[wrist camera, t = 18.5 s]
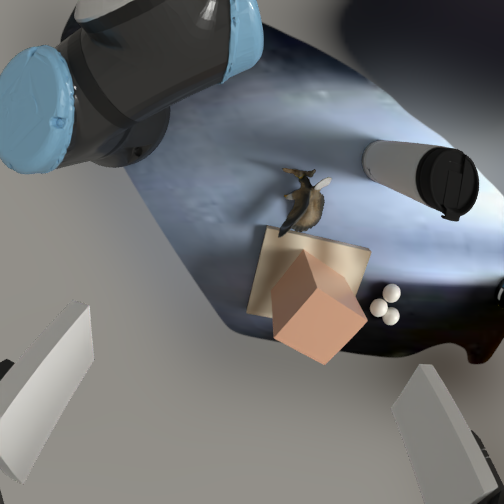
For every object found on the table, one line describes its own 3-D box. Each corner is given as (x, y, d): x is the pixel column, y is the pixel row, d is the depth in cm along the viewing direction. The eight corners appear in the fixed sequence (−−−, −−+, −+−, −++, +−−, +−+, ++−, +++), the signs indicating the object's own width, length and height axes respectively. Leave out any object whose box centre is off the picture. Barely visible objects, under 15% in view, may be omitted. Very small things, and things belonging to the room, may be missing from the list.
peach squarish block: (311, 315, 48) (324, 364, 37) (270, 290, 47) (273, 338, 36) (344, 277, 46) (367, 320, 35) (303, 249, 44) (317, 287, 33)
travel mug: (357, 180, 42) (424, 215, 23) (364, 136, 40) (438, 140, 21) (395, 188, 42) (474, 227, 24) (403, 145, 40) (488, 159, 21)
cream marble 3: (377, 317, 50) (382, 327, 47) (383, 303, 49) (389, 312, 46) (391, 320, 50) (397, 329, 47) (398, 305, 49) (404, 314, 46)
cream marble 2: (377, 295, 49) (383, 304, 46) (384, 279, 48) (390, 287, 45) (392, 298, 49) (398, 307, 46) (398, 282, 48) (405, 290, 45)
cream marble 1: (365, 309, 50) (370, 319, 47) (371, 294, 48) (377, 303, 46) (380, 312, 50) (385, 321, 47) (386, 296, 49) (392, 305, 46)
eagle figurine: (264, 169, 41) (264, 236, 43) (298, 165, 35) (298, 242, 37) (307, 172, 45) (306, 232, 47) (342, 170, 39) (342, 238, 41)
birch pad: (246, 308, 50) (246, 313, 48) (266, 225, 45) (267, 228, 43) (339, 324, 51) (341, 329, 49) (368, 248, 46) (371, 251, 44)
